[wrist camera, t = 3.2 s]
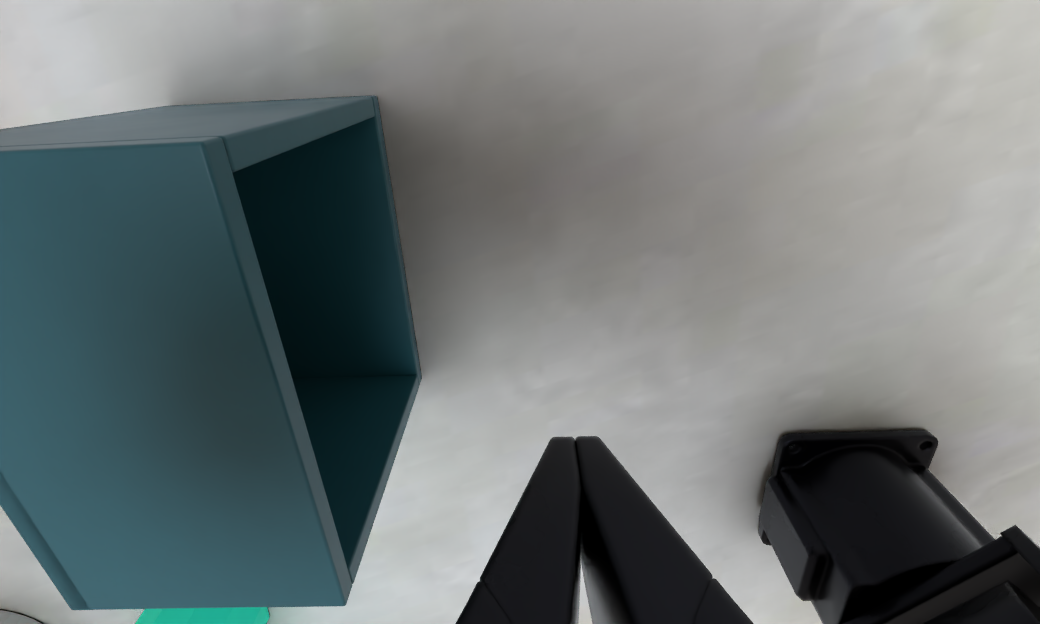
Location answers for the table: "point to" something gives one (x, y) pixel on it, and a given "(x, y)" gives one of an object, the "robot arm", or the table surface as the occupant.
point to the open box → (201, 350)
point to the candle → (205, 616)
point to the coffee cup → (15, 618)
